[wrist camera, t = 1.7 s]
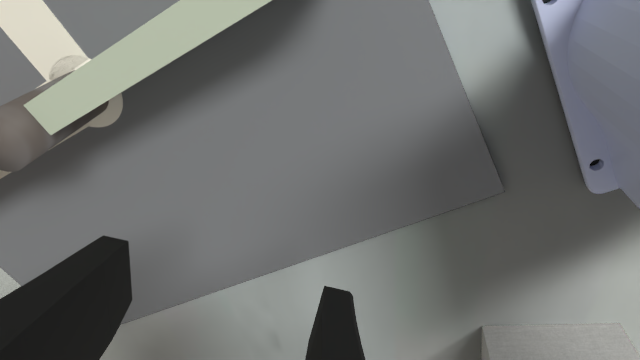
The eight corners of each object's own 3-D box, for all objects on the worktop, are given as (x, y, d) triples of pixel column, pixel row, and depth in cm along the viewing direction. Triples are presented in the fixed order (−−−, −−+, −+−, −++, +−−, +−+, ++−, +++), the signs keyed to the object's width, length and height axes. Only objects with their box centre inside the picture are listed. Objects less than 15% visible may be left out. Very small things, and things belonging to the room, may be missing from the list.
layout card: (503, 188, 18) (505, 192, 18) (84, 334, 28) (81, 338, 27) (124, -760, 8) (115, -784, 8) (-335, -35, 18) (-347, -34, 17)
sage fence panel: (348, -51, 14) (338, -41, 11) (113, 94, 18) (50, 135, 14) (331, -88, 13) (314, -91, 10) (93, 68, 17) (23, 105, 14)
